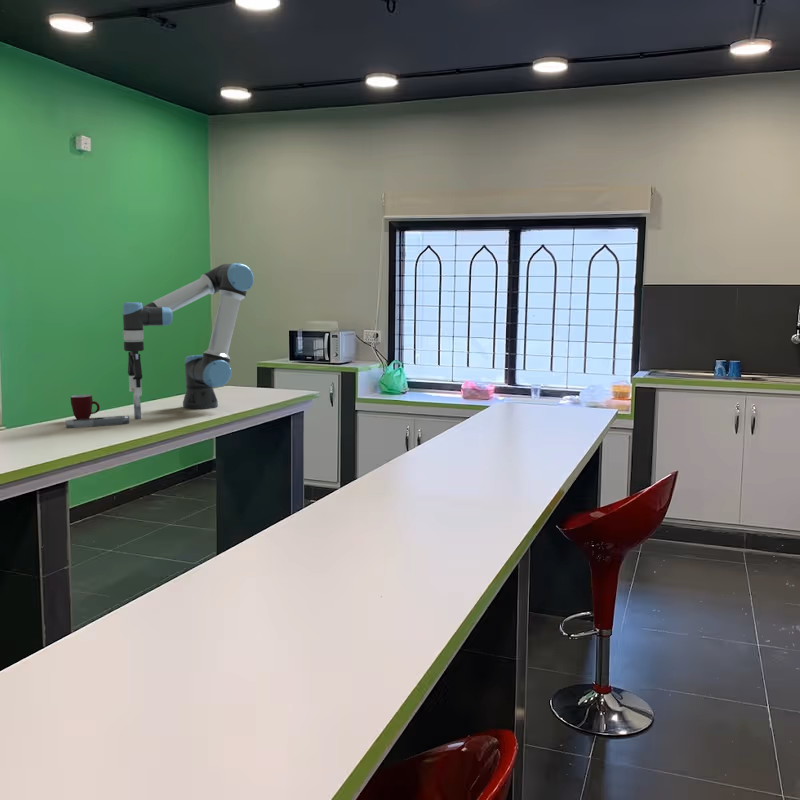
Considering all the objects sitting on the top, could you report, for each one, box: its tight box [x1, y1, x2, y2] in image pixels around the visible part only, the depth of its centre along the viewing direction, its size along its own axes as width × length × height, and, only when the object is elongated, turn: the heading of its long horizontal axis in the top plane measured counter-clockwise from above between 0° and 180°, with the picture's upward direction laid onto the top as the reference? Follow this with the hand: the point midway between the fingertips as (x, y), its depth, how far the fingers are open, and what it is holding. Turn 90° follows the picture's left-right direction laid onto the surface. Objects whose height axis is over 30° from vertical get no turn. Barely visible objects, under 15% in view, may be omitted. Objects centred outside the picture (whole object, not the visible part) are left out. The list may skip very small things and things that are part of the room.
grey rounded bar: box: [65, 415, 130, 429], centre depth 307 cm, size 23×5×2 cm, turn 117°
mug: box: [70, 394, 100, 419], centre depth 317 cm, size 11×8×10 cm
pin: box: [132, 387, 142, 420], centre depth 319 cm, size 3×3×13 cm
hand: (135, 393), depth 319 cm, fingers open, 13 cm apart
